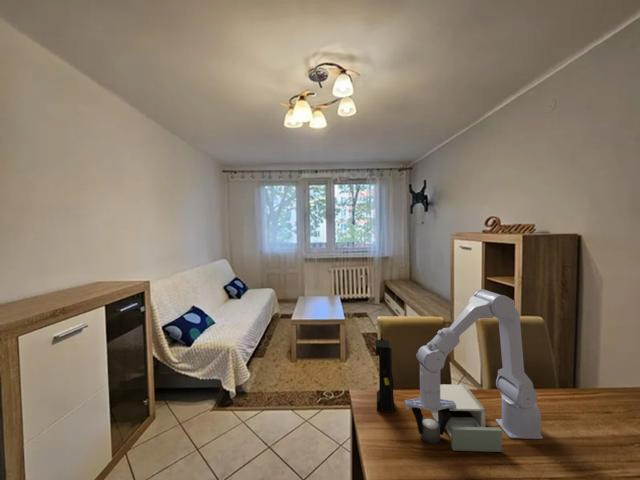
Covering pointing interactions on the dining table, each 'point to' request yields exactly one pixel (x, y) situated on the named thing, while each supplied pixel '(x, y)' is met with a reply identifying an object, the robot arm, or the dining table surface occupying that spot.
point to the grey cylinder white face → (430, 430)
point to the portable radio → (385, 376)
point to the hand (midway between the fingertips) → (430, 432)
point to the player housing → (462, 401)
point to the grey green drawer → (473, 435)
